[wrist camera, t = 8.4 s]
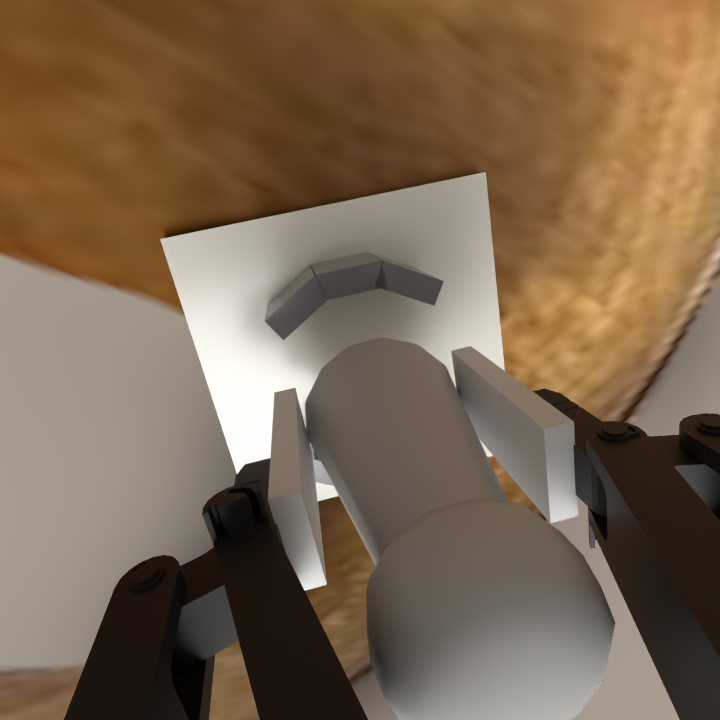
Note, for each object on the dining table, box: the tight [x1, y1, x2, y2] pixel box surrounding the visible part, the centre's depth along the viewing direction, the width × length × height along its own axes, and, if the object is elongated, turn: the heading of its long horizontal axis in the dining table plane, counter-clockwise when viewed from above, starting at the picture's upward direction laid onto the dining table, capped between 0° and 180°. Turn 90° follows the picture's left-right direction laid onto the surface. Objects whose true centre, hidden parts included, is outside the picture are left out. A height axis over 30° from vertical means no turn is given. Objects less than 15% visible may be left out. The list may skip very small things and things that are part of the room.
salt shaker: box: [305, 337, 615, 720], centre depth 13 cm, size 6×6×13 cm
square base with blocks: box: [160, 172, 505, 501], centre depth 21 cm, size 14×14×4 cm
